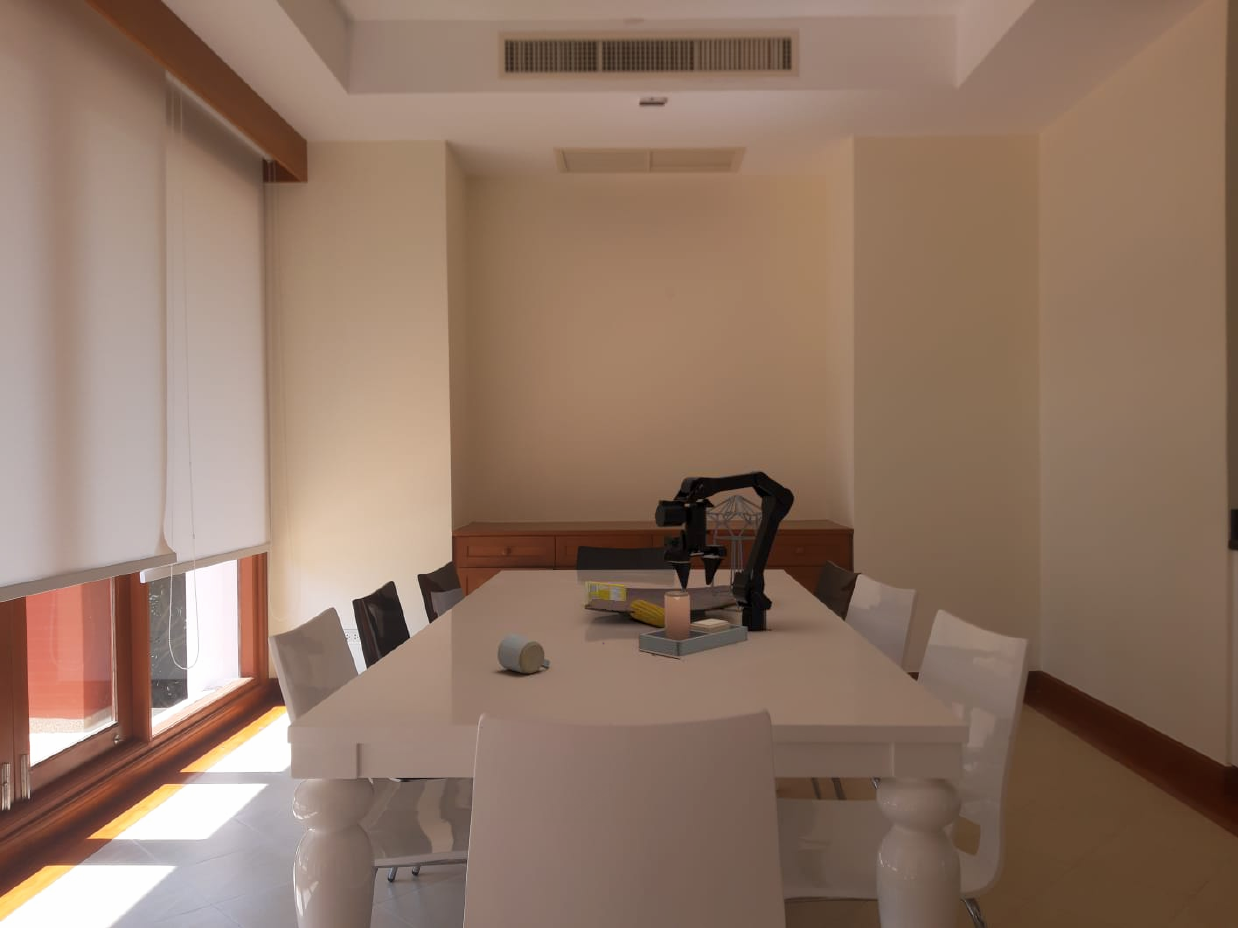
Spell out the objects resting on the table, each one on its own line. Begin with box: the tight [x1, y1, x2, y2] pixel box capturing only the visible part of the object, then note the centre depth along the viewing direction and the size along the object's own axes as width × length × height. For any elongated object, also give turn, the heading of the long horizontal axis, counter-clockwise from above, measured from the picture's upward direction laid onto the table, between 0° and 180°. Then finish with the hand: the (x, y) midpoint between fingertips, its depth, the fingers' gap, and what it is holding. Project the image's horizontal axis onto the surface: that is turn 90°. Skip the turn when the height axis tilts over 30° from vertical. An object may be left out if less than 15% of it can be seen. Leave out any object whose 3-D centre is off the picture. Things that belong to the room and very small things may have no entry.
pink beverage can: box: [664, 590, 691, 641], centre depth 205 cm, size 6×6×13 cm
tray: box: [638, 622, 749, 661], centre depth 209 cm, size 25×13×4 cm, turn 134°
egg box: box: [690, 618, 731, 633], centre depth 213 cm, size 8×6×4 cm
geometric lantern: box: [707, 494, 762, 612], centre depth 265 cm, size 16×16×35 cm
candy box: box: [584, 580, 627, 606], centre depth 265 cm, size 16×2×8 cm, turn 46°
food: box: [629, 599, 665, 628], centre depth 240 cm, size 21×6×6 cm, turn 28°
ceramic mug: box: [497, 633, 551, 675], centre depth 188 cm, size 11×8×8 cm
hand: (696, 586), depth 220 cm, fingers open, 9 cm apart
